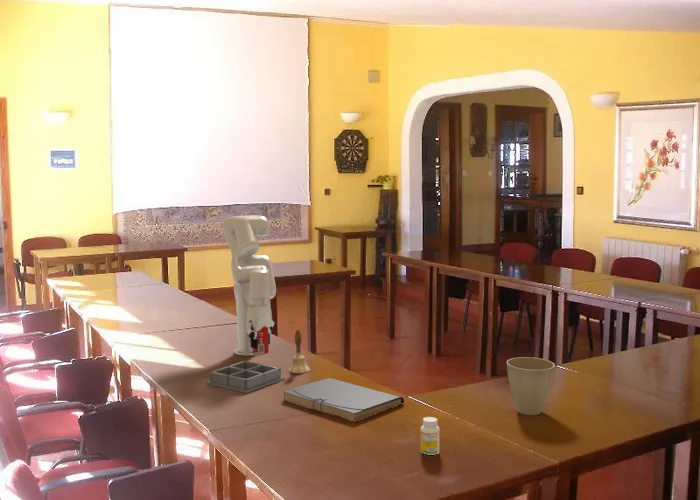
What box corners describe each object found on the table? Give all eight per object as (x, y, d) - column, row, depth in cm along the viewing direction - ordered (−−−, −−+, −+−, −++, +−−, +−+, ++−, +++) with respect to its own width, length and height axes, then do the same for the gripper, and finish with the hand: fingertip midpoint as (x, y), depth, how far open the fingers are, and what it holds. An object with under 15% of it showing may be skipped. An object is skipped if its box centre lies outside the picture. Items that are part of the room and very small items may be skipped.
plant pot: (527, 422, 236) (527, 372, 234) (496, 408, 249) (496, 360, 247) (564, 414, 242) (565, 365, 240) (532, 401, 256) (533, 354, 253)
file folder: (282, 390, 259) (332, 376, 277) (282, 402, 260) (332, 387, 277) (354, 412, 237) (403, 394, 254) (354, 425, 237) (403, 406, 255)
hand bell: (284, 372, 294) (283, 331, 292) (294, 366, 301) (293, 326, 299) (304, 374, 291) (303, 333, 289) (313, 368, 298) (312, 328, 296)
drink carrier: (245, 370, 296) (245, 359, 296) (284, 379, 285) (284, 367, 284) (206, 383, 280) (206, 372, 280) (246, 393, 269) (246, 381, 268)
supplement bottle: (432, 458, 210) (432, 424, 208) (416, 453, 213) (416, 419, 212) (443, 452, 214) (443, 418, 213) (427, 447, 217) (427, 414, 216)
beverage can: (270, 352, 304) (269, 323, 302) (266, 357, 298) (266, 327, 296) (254, 351, 305) (253, 322, 303) (250, 356, 299) (250, 326, 297)
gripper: (267, 295, 307) (268, 339, 310) (236, 304, 293) (237, 349, 296) (281, 298, 302) (282, 342, 306) (251, 307, 289) (252, 353, 292)
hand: (260, 345), depth 301 cm, fingers closed on beverage can, 6 cm apart
